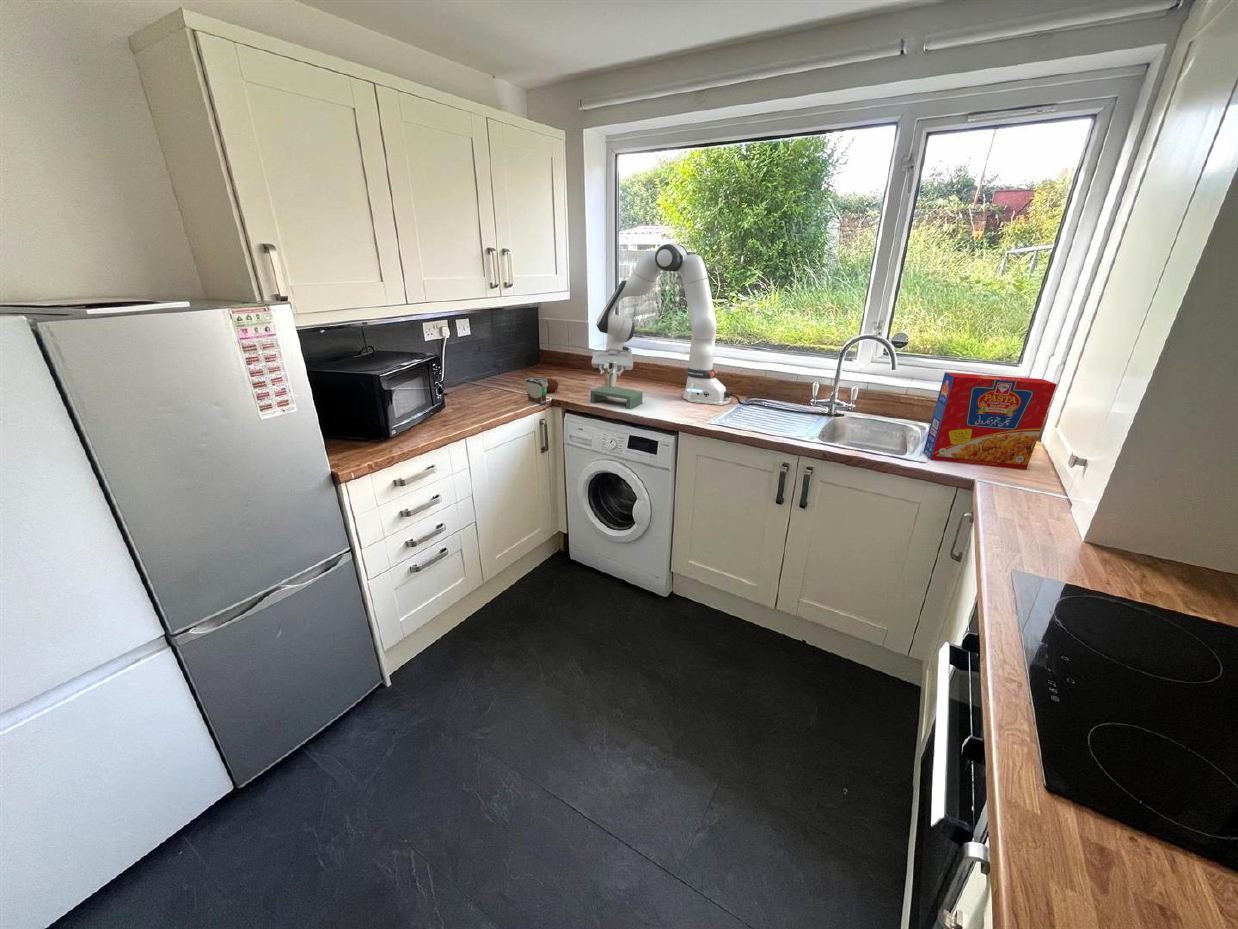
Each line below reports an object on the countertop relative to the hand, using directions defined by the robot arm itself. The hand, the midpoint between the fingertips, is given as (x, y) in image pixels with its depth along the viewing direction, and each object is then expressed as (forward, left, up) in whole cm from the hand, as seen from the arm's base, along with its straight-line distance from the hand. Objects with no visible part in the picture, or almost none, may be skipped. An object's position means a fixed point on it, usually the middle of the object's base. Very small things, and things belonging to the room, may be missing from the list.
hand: (610, 374), depth 239 cm
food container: (+15, +35, -9) cm, 40 cm away
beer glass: (0, -1, -9) cm, 9 cm away
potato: (+23, +17, -9) cm, 30 cm away
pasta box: (-148, +12, -9) cm, 149 cm away
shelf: (-13, +16, -8) cm, 22 cm away
